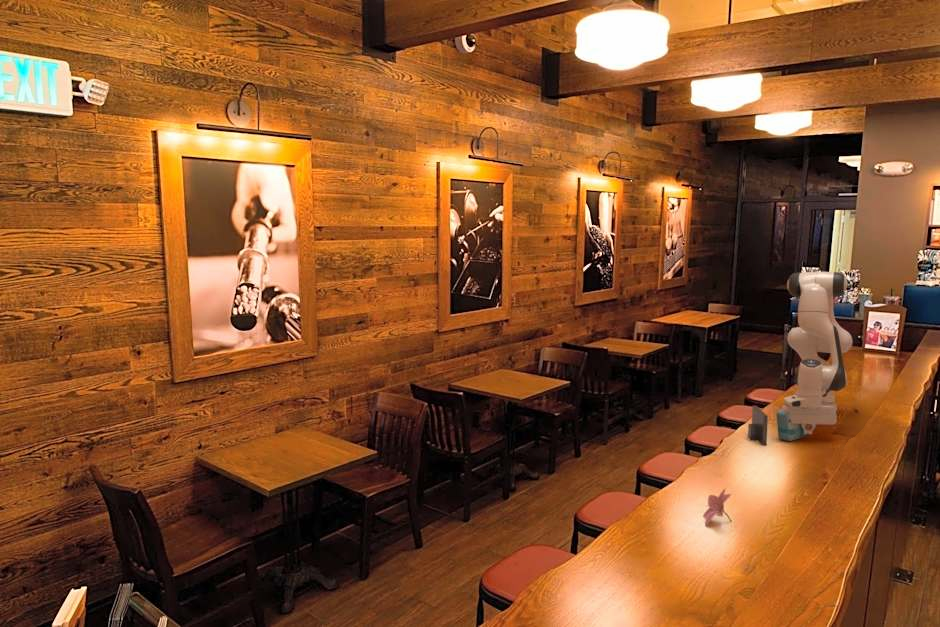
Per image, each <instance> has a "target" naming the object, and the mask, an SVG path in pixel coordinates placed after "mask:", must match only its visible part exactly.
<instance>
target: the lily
mask: <svg viewBox="0 0 940 627" xmlns="http://www.w3.org/2000/svg"><path fill="white" fill-rule="evenodd" d="M726 489H727V488H723V490H722V491H721V492H720V494H718V495H715V494H709V495H708V497H707V498H708V499H707V505H708V507H709V508H708V509H707V510H706V511H705V512H704V513H703V515H702V516H703V517H706V518H705V523H704V526H705V527H707V526H708V524H709V523H710V521H711V520H712V519H713V518H714V517H715V516H717V517H724V514H725V516H727V518H728V519H729V521H730V522H731V523H732V522H733V521H732V520H731V518H730V516H729V515H728V513H726V511H725V507H724V506H725V505H724V504H725V502H726V501H727V500H728V499H729V498H730V497H731V496H732V494H731V493H727V494H725V492H726Z"/></svg>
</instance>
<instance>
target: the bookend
mask: <svg viewBox="0 0 940 627" xmlns="http://www.w3.org/2000/svg"><path fill="white" fill-rule="evenodd" d="M751 412H752V414H751V415H752V416H751V423H748V424H747V426H748V430H747V438H748V440H749V439H750V440H749V441H757V440H758V443H760V444H761V445H762V446H767V439H768V421H769V420H768V419H769V416H768V415H767V414H766V413H765V412H764V411H763V410H762V409H761V408H760V407H759V406H758V405H752V411H751Z"/></svg>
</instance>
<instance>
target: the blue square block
mask: <svg viewBox="0 0 940 627" xmlns="http://www.w3.org/2000/svg"><path fill="white" fill-rule="evenodd" d="M776 424H777V437H778V439H779V440H781V439H782V440H783V441H787V442H788V441H789V442H791V441H792V442H793V441H795V440H799V439H802V438H805V437H806V435H804V434H803V429H802V427H801V426H800V424H792V422H791V417H790V413H789V412H787V413H784V411H783V410H781V409H778V410H777V411H776ZM804 427H805V429H807V425H806V426H804Z"/></svg>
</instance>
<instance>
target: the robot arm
mask: <svg viewBox="0 0 940 627" xmlns="http://www.w3.org/2000/svg"><path fill="white" fill-rule="evenodd" d="M847 287H848V281H847V278H846V276H845V274H844V273H842V272H838V271H834V272H832V271H808V272H794V273H792V274H791V275H789V278H788V280H787V282H786V288H787V291H788V293H789V295H791V296H792V297H794V298H796V299H797V300H799V302H798V308H797V322H798V326H797V327H793V328H791V330H789V332H788V333H787V337H786V338H787V340H786V341H787V344H788V345H789V347H790V348H792V349H793V351H795V352H796V353H797V354H798V355H799V357H800V359H801V361H800V364H799V365H798V366H797V367H795V368H794V380H793V382H794V383H795V384H796V385H797V386H798V388H797V391H795V392H794V394H792V395H790V396H789V395H788V396H786V397H783V403H784V404H782V406H781V408H780V410H783V411H784V413H787V412H789V413H790V417H791V422H792V424H800V426H801V427H802V429H803V434H804V435H808V436H809V435H810V436H811V435H813V430H815V428H816V426H817V425H832V426H833V425H836V423H837V422H838V421H837V419H838V418H837V417H838V416H837V412H838V404H837V403H836V402H835V394H834V393H833V392H839V391H841V390H843V389H845V388H846V386H847V383H848V374H847V372H846V369H845V366H844V364H845V363H844V360H843V359H844V358H843V357H844V356H843V353H848V351H850V350H851V348H852V346H853V337H852V335H851V333H850V332H849V331H847V330H846V329H844V328H843V327H841V325H840V324H839V323H838V322H837V320H836V318H835V312H834V298H838V297H842V296H843V295H844V294H845V292H846V291H847ZM818 353H825V354H826V353H827V354H830V357H831V363H829V362H828V361H826V360H825V359H823V358H821V357H820V356H819V355H818ZM836 411H837V412H836ZM807 425H810V426H809V428H808V429H807V428H806V429H805V427H804V426H806V427H807Z"/></svg>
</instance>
